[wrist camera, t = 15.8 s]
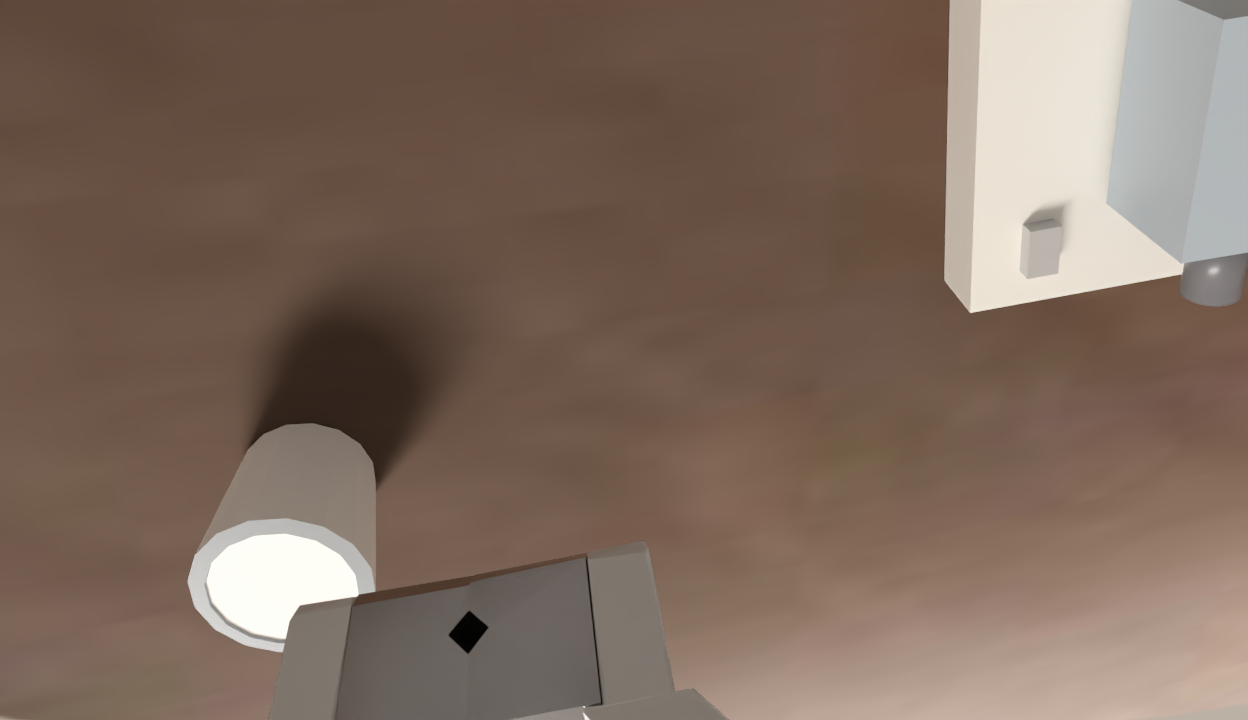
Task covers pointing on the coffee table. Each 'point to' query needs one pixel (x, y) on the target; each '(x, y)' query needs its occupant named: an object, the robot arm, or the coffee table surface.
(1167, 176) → the plug
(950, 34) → the socket plate
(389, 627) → the robot arm
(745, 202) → the coffee table surface
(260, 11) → the coffee table surface
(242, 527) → the shot glass
